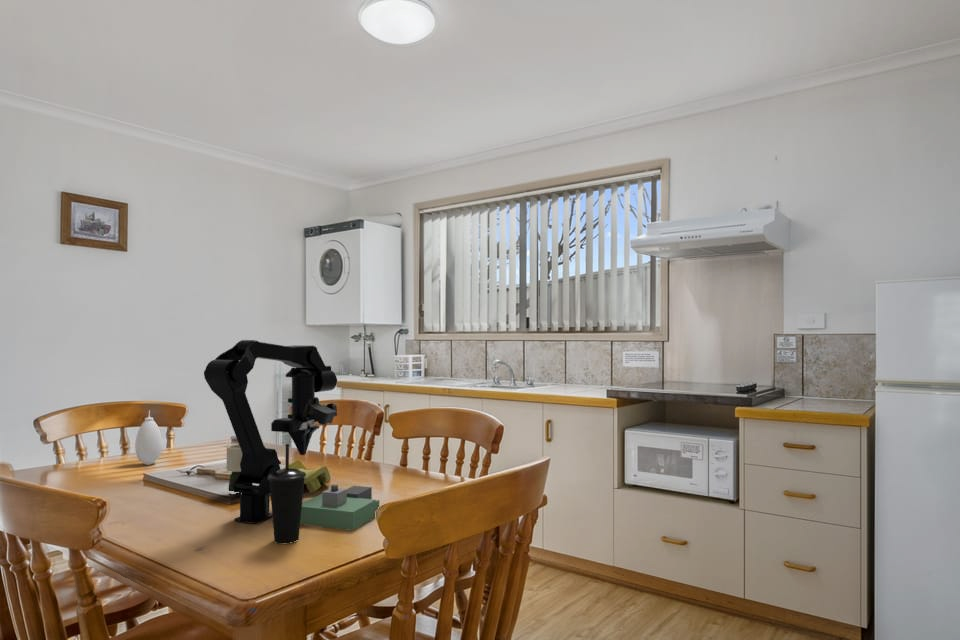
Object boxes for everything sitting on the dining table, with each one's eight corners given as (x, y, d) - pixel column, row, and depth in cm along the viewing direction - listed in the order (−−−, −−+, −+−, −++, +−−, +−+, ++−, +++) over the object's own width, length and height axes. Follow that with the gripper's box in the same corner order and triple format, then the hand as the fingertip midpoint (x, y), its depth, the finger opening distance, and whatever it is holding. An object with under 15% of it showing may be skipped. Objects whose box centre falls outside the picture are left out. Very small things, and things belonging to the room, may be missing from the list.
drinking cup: (266, 548, 123) (267, 448, 123) (268, 536, 130) (269, 442, 131) (305, 544, 125) (306, 446, 126) (305, 532, 133) (306, 440, 133)
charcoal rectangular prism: (357, 515, 146) (357, 494, 146) (339, 513, 147) (339, 492, 147) (371, 507, 152) (371, 487, 152) (353, 505, 154) (353, 485, 154)
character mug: (261, 496, 162) (262, 446, 163) (234, 500, 158) (235, 450, 158) (246, 488, 170) (246, 441, 171) (219, 492, 166) (220, 444, 166)
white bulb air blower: (159, 461, 206) (159, 407, 207) (164, 465, 200) (164, 409, 201) (133, 464, 202) (133, 409, 202) (137, 468, 195) (138, 411, 196)
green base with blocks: (353, 530, 134) (353, 492, 134) (294, 523, 139) (295, 487, 139) (388, 509, 150) (388, 475, 150) (335, 503, 155) (335, 471, 155)
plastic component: (271, 475, 176) (301, 456, 182) (282, 497, 177) (312, 477, 183) (297, 483, 160) (329, 462, 166) (309, 507, 162) (340, 485, 168)
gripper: (309, 398, 146) (308, 464, 146) (349, 391, 164) (349, 450, 163) (270, 397, 150) (269, 461, 149) (313, 390, 167) (313, 447, 167)
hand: (302, 454), depth 157 cm, fingers closed
